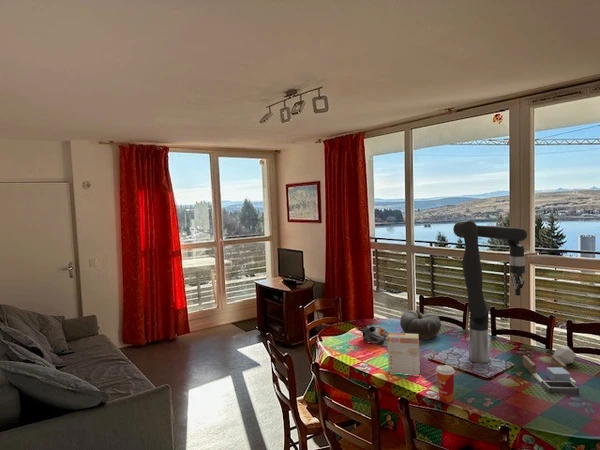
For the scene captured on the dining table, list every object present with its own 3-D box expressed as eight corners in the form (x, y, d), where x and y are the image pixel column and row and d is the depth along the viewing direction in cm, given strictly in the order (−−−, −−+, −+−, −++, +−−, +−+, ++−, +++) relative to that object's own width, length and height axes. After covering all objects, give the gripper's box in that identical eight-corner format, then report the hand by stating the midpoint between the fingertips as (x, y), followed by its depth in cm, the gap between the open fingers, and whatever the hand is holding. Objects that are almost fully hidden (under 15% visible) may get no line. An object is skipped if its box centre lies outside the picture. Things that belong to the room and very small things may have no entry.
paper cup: (433, 396, 178) (432, 365, 178) (450, 394, 179) (449, 363, 178) (441, 404, 170) (440, 372, 170) (458, 403, 171) (458, 371, 170)
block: (554, 383, 185) (554, 373, 185) (546, 376, 192) (546, 367, 192) (570, 383, 185) (570, 373, 184) (562, 376, 192) (562, 367, 191)
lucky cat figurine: (386, 337, 256) (391, 321, 249) (383, 351, 246) (388, 335, 239) (363, 330, 259) (367, 314, 252) (359, 343, 249) (364, 327, 242)
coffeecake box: (420, 371, 205) (418, 333, 204) (419, 377, 198) (418, 338, 197) (390, 368, 210) (388, 331, 208) (388, 374, 203) (387, 336, 202)
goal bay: (540, 383, 185) (540, 381, 185) (532, 375, 194) (532, 373, 194) (576, 384, 183) (576, 382, 183) (566, 375, 192) (566, 373, 192)
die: (575, 368, 200) (581, 350, 203) (558, 359, 202) (564, 341, 204) (564, 368, 208) (570, 350, 211) (548, 359, 210) (554, 342, 212)
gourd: (397, 325, 272) (400, 301, 269) (434, 331, 269) (438, 306, 266) (400, 341, 248) (404, 315, 245) (441, 348, 245) (446, 321, 242)
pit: (549, 393, 176) (549, 387, 176) (542, 385, 183) (542, 380, 183) (579, 393, 174) (579, 388, 174) (570, 386, 181) (570, 381, 181)
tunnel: (532, 375, 194) (532, 364, 194) (522, 365, 206) (522, 355, 206) (566, 375, 192) (566, 365, 192) (554, 365, 204) (554, 355, 203)
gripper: (505, 262, 228) (506, 292, 229) (514, 266, 215) (515, 298, 215) (519, 262, 226) (520, 292, 227) (529, 266, 213) (530, 298, 214)
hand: (517, 295), depth 221 cm, fingers closed
